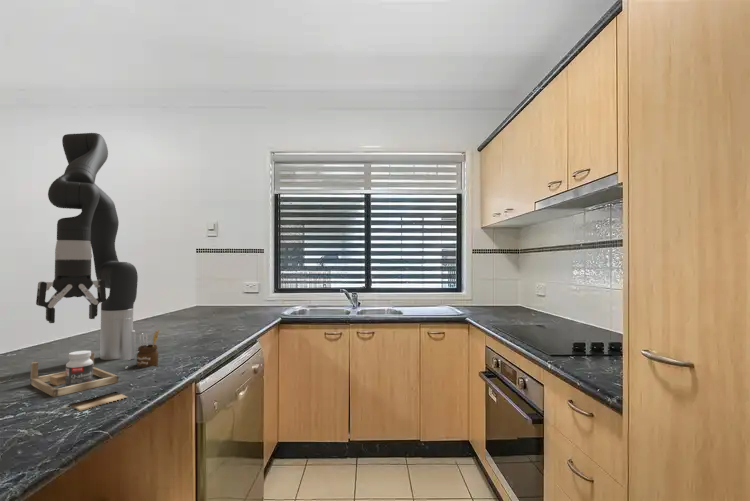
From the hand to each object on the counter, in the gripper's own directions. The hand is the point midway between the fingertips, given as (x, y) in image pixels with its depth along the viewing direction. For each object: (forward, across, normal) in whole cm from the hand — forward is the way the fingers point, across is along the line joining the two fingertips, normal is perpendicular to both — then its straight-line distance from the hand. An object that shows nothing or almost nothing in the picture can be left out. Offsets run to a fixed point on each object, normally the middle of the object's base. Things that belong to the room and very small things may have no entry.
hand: (72, 320), depth 102 cm
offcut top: (+17, -1, -6) cm, 18 cm away
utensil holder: (+18, -22, -8) cm, 30 cm away
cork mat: (+18, -2, +12) cm, 22 cm away
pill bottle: (+18, -2, 0) cm, 19 cm away
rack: (+18, -2, -2) cm, 19 cm away
